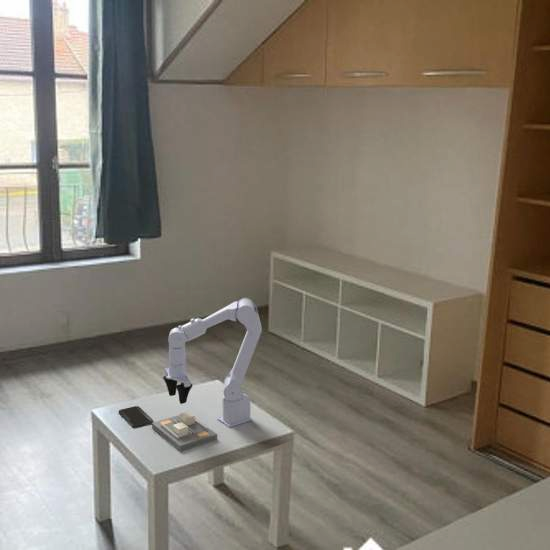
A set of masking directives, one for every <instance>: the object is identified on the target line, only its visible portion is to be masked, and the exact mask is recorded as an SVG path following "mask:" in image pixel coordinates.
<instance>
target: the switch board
mask: <svg viewBox="0 0 550 550" xmlns="http://www.w3.org/2000/svg"><path fill="white" fill-rule="evenodd" d="M178 423H181V421H180V414H178V415H176V416H172V417H169V418H165V419H161V420H157V421H155V422H154V421H153V423H152V424H151V428H152V430H154V431H155V432H156V433H157V434H158V435H160V436H161V437H162V438H163V439H165V440H166V442H168V443H169V444H171V445H172V446H173V447H174V448H175V449H177V450H178V451H179V452H183V451H186V450H189V449H193V448H196V447H198V446H202V445H205V444H208V443H212V442H214V441H218V434H217V432H215V431H213V429H210V428H209V427H208V426H206V424H204V423H202V422H201V421H199V420H198V419H197V418H195V424H192V425H188V435H186V436H183V437H180V438H179V437H178V436H177V435H176V434H175V433H173V425H174V424H178Z"/></svg>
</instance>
